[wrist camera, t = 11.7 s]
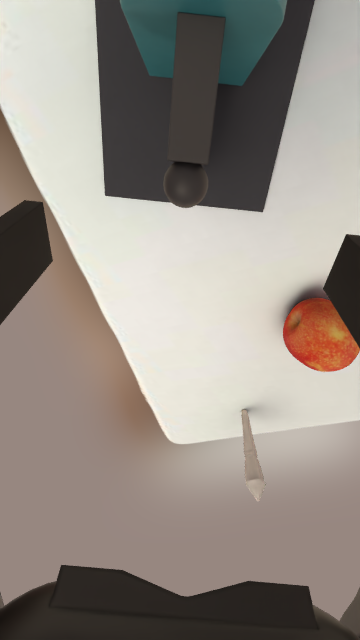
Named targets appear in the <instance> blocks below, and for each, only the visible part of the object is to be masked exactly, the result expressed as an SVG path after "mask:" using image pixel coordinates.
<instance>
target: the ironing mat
mask: <svg viewBox="0 0 360 640" xmlns="http://www.w3.org/2000/svg"><path fill="white" fill-rule="evenodd" d="M314 1H315V0H287V4H286V9H285V15H284V20H283V23H282V25H281V27H280V28H279V29H278V31H277V33H276V34H275V36H274V37H273V39H272V40H271V42H270V43H269V45H268V47H267V48H266V50H265V51H264V53H263V54H262V56H261V57H260V59H259V61H258V62H257V64H256V65H255V67H254V68H253V70H252V71H251V73H250V75H249V76H248V78H247V79H246V81H245V82H244V84H243V85H242V86H238V85H229V84H220V83H218V88H217V96H216V104H215V113H214V121H213V129H212V138H211V146H210V154H209V162H208V164H207V165H202V167H203V168H204V170H205V172H206V174H207V177H208V189H207V193H206V195H205V197H204V198H203V200H202V201H201V202H200V203H198V204H197V205H200V206H209V207H219V208H228V209H238V210H248V211H257V212H263V209H264V205H265V201H266V197H267V193H268V189H269V185H270V181H271V176H272V172H273V168H274V164H275V160H276V156H277V152H278V148H279V144H280V140H281V136H282V131H283V127H284V123H285V119H286V115H287V111H288V107H289V103H290V99H291V95H292V91H293V86H294V82H295V78H296V74H297V70H298V66H299V62H300V58H301V54H302V50H303V46H304V41H305V37H306V33H307V29H308V25H309V21H310V17H311V13H312V9H313V5H314ZM95 8H96V27H97V47H98V66H99V86H100V105H101V125H102V144H103V164H104V183H105V196H113V197H122V198H132V199H142V200H151V201H161V202H171V201H170V200H169V199H168V198H167V196H166V194H165V191H164V186H163V181H164V176H165V173H166V171H167V169H168V168H169V167H170V166H171V165H172V164H173V163H174V162H172V161H168V160H167V156H168V142H169V127H170V113H171V99H172V84H173V78H166V77H157V76H150V75H149V73H148V70H147V68H146V66H145V63H144V61H143V58H142V56H141V53H140V51H139V49H138V46H137V44H136V41H135V39H134V36H133V34H132V32H131V29H130V27H129V24H128V22H127V19H126V17H125V15H124V12H123V10H122V7H121V4H120V0H95ZM171 203H172V202H171Z"/></svg>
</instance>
